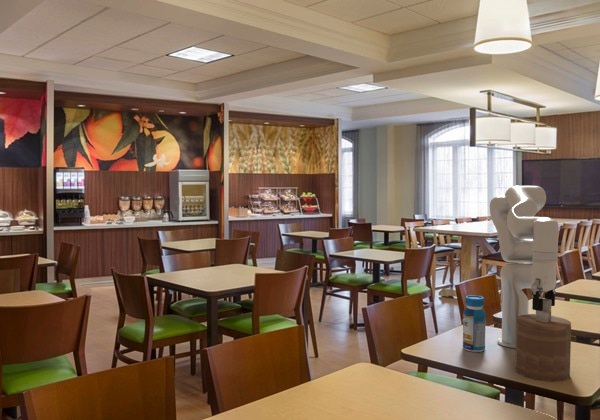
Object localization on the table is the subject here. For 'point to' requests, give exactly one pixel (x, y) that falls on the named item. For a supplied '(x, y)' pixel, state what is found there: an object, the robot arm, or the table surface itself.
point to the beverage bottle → (474, 324)
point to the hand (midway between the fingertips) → (543, 307)
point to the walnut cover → (543, 345)
